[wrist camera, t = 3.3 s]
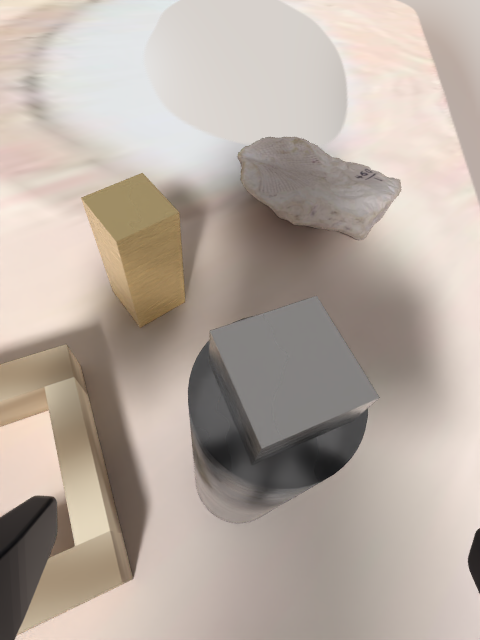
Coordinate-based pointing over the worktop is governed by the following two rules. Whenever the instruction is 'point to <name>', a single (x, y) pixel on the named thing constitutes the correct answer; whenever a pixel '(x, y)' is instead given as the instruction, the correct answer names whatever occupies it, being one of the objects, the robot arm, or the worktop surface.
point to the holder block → (69, 482)
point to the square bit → (139, 246)
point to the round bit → (274, 409)
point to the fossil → (315, 186)
